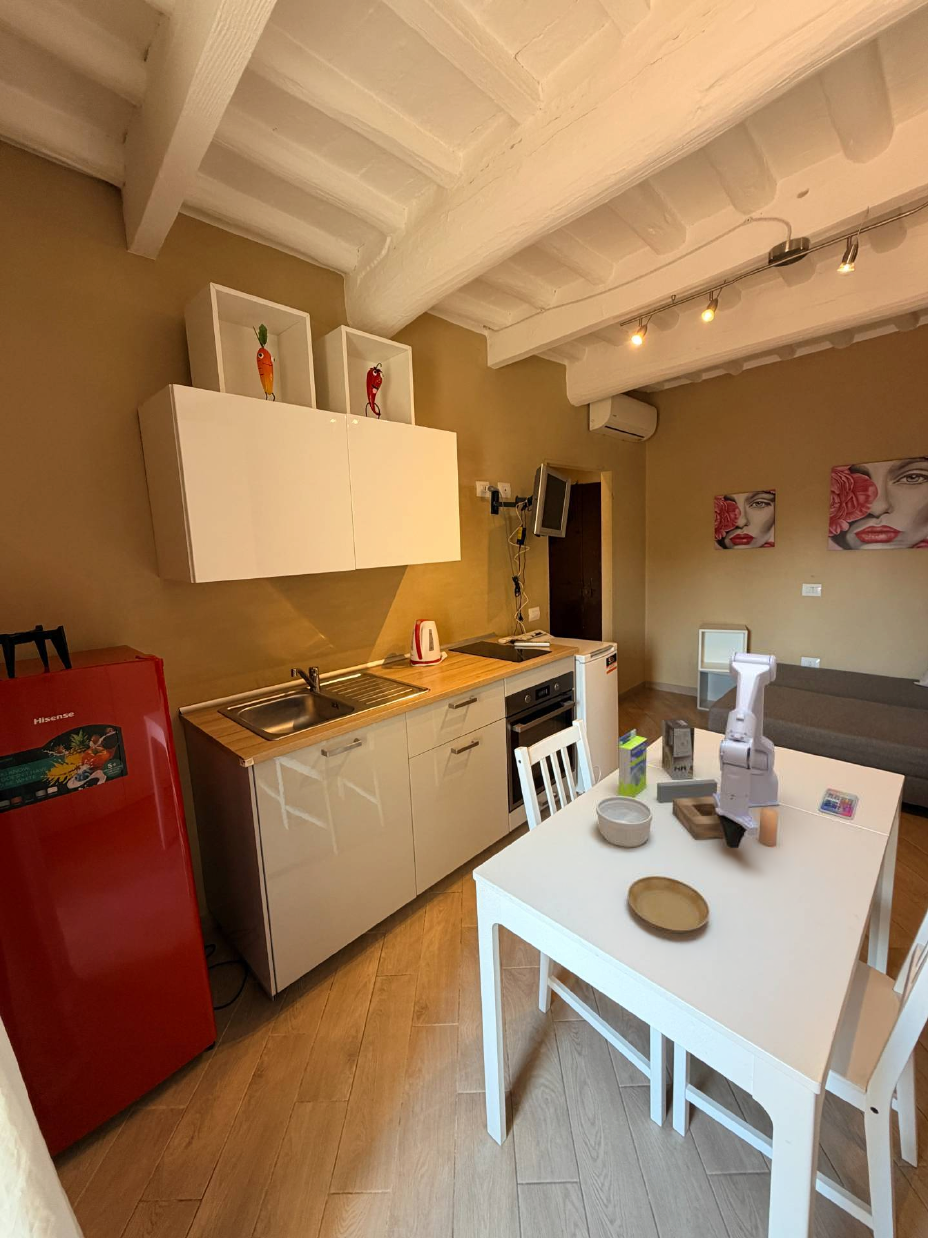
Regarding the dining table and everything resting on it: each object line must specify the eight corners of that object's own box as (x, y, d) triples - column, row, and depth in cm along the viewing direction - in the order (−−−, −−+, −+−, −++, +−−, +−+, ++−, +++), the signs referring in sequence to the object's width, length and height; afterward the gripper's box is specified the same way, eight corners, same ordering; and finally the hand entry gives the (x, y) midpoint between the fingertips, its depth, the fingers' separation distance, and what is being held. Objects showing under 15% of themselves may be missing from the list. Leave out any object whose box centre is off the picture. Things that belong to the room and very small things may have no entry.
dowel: (769, 837, 118) (771, 806, 117) (779, 846, 115) (781, 814, 114) (755, 838, 118) (757, 807, 117) (765, 847, 115) (766, 815, 113)
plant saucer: (612, 910, 98) (612, 898, 97) (653, 877, 107) (653, 866, 106) (683, 956, 86) (684, 943, 86) (723, 915, 95) (723, 903, 95)
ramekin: (586, 837, 122) (586, 811, 121) (611, 814, 131) (611, 790, 130) (638, 858, 113) (638, 830, 112) (660, 832, 122) (661, 806, 121)
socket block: (716, 810, 131) (717, 796, 130) (744, 836, 119) (744, 821, 118) (672, 813, 130) (672, 799, 130) (695, 839, 118) (696, 824, 118)
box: (630, 801, 137) (631, 742, 135) (617, 796, 140) (617, 739, 138) (647, 787, 144) (648, 731, 142) (634, 783, 147) (634, 728, 145)
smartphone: (859, 795, 134) (853, 819, 123) (859, 799, 134) (852, 823, 124) (826, 787, 139) (817, 809, 128) (826, 790, 139) (817, 812, 129)
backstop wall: (712, 796, 138) (713, 779, 137) (716, 799, 136) (717, 782, 135) (656, 799, 138) (657, 782, 137) (660, 803, 136) (660, 786, 135)
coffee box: (694, 779, 148) (695, 728, 146) (672, 779, 148) (673, 728, 146) (681, 765, 157) (682, 717, 155) (661, 766, 157) (661, 718, 155)
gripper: (701, 777, 118) (699, 829, 120) (736, 809, 104) (734, 867, 106) (729, 775, 119) (727, 827, 121) (769, 807, 104) (766, 865, 106)
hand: (732, 846), depth 113 cm, fingers closed
